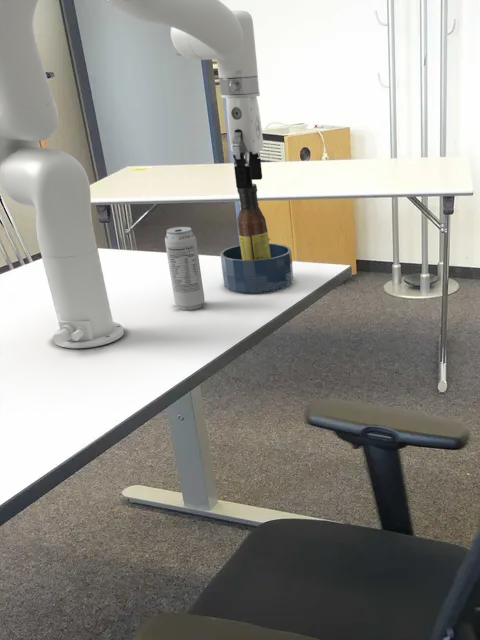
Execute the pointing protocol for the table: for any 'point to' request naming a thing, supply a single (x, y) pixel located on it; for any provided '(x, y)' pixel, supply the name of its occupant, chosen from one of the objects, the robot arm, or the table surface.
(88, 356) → the table surface
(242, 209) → the sauce bottle
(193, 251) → the energy drink can
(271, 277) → the navy blue bowl
